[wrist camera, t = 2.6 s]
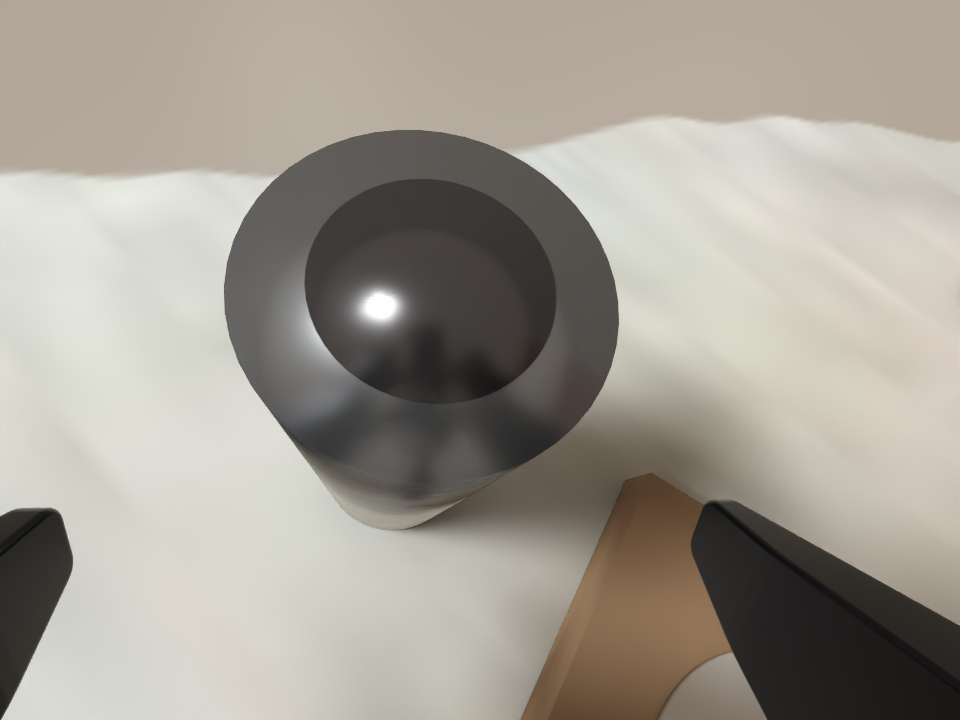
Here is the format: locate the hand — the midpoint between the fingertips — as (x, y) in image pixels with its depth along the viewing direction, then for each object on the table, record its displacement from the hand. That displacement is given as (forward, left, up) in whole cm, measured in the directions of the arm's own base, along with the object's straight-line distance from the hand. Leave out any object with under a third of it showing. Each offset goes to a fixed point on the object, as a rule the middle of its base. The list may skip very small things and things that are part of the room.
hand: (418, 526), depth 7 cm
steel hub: (+2, +2, -11) cm, 11 cm away
